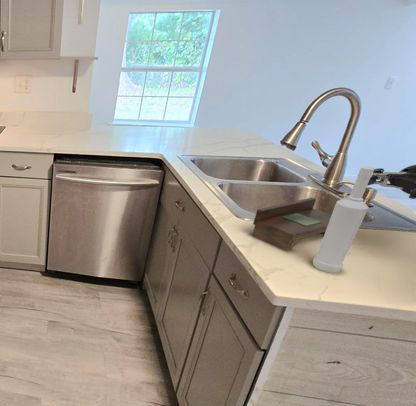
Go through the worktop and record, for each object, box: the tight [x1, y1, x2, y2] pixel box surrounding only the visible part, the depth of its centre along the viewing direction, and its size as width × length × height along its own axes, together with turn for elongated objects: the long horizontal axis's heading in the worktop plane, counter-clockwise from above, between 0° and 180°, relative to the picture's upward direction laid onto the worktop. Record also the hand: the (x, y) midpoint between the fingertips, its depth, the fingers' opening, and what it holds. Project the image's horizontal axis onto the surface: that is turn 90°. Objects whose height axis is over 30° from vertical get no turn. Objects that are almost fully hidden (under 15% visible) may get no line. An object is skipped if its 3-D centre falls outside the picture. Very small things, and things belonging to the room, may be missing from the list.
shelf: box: [251, 197, 332, 251], centre depth 100 cm, size 10×22×8 cm, turn 109°
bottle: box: [312, 166, 375, 274], centre depth 82 cm, size 5×5×25 cm
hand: (387, 187), depth 83 cm, fingers open, 8 cm apart
